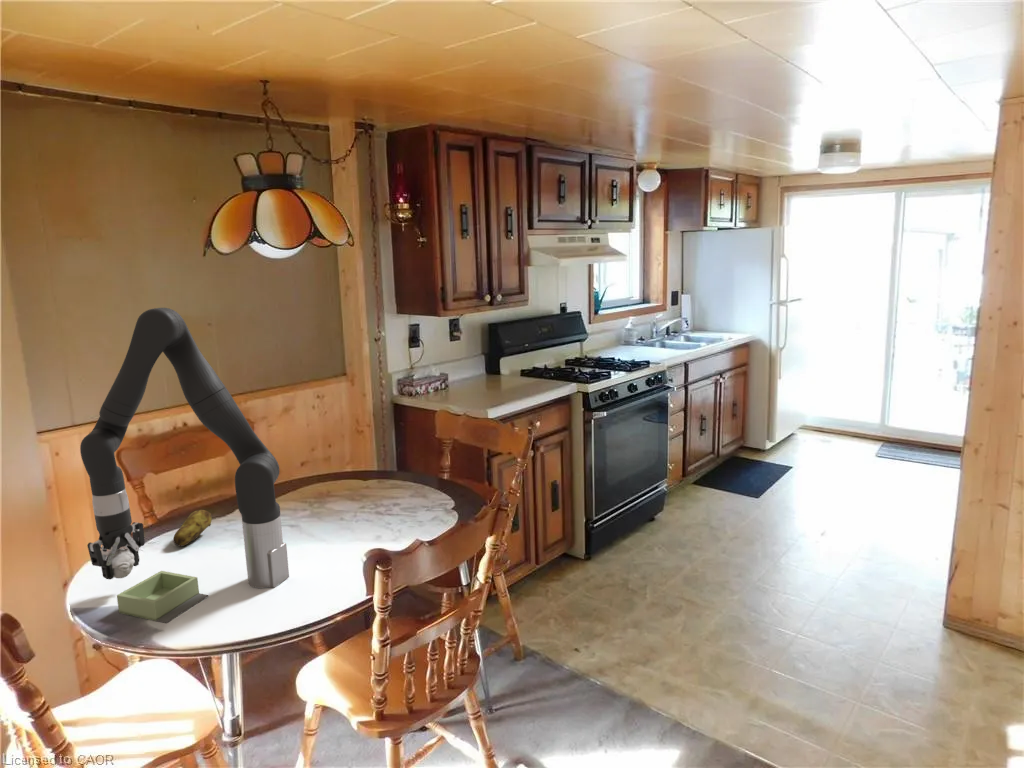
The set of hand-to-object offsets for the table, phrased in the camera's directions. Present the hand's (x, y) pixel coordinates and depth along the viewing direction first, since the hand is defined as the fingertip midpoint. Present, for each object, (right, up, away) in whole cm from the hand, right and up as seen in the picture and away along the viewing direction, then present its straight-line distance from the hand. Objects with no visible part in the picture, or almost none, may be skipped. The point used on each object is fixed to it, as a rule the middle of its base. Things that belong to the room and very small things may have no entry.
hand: (122, 571), depth 168 cm
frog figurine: (0, -1, 0) cm, 2 cm away
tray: (+13, -7, -4) cm, 15 cm away
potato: (+2, 0, +33) cm, 33 cm away
